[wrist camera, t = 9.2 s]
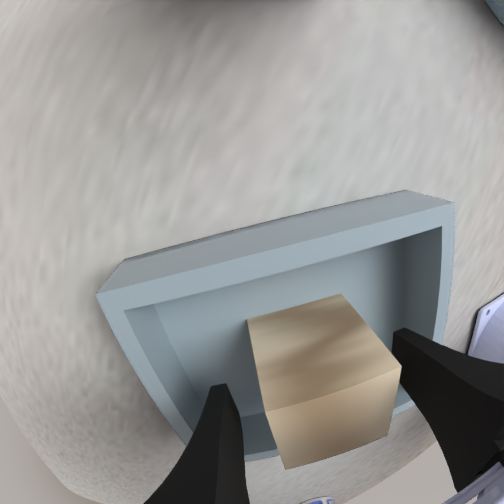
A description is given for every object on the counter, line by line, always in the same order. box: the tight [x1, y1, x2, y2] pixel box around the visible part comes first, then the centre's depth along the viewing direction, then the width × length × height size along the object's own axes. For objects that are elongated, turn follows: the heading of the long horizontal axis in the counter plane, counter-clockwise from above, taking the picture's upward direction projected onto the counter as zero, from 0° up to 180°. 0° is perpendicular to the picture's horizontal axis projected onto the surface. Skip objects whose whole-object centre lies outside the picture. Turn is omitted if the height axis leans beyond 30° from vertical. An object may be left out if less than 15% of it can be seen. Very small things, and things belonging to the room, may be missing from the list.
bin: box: [95, 190, 455, 462], centre depth 12 cm, size 14×12×4 cm
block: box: [247, 293, 402, 470], centre depth 11 cm, size 4×4×6 cm
